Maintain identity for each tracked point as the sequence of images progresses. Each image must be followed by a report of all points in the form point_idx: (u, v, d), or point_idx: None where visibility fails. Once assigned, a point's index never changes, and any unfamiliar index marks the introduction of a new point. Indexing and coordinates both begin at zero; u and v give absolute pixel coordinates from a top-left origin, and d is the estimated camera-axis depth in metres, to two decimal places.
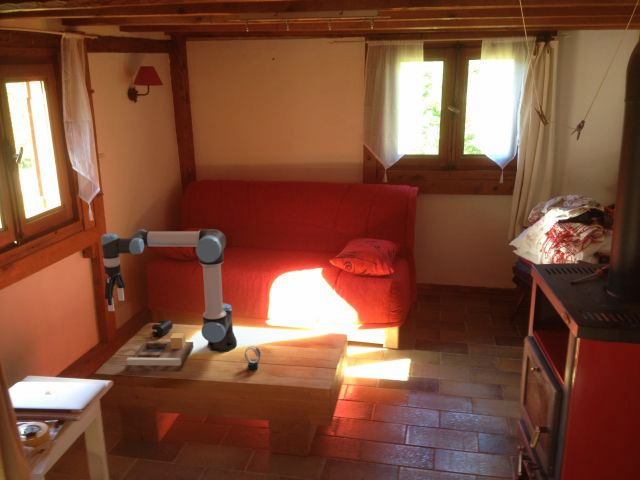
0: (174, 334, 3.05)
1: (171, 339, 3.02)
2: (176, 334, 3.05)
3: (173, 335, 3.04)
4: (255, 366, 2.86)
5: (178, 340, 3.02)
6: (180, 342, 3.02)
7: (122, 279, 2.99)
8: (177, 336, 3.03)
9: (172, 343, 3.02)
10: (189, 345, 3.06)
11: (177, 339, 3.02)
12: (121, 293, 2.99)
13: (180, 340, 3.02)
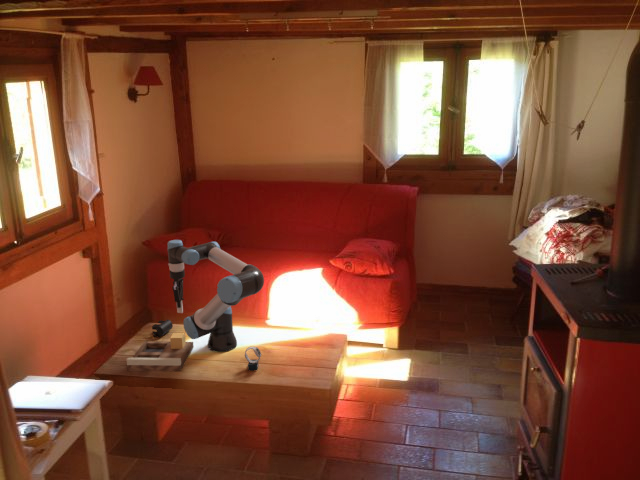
0: (174, 334, 3.05)
1: (171, 339, 3.02)
2: (176, 334, 3.05)
3: (173, 335, 3.04)
4: (255, 366, 2.86)
5: (178, 340, 3.02)
6: (180, 342, 3.02)
7: (182, 290, 3.10)
8: (177, 336, 3.03)
9: (172, 343, 3.02)
10: (189, 345, 3.06)
11: (177, 339, 3.02)
12: None
13: (180, 340, 3.02)
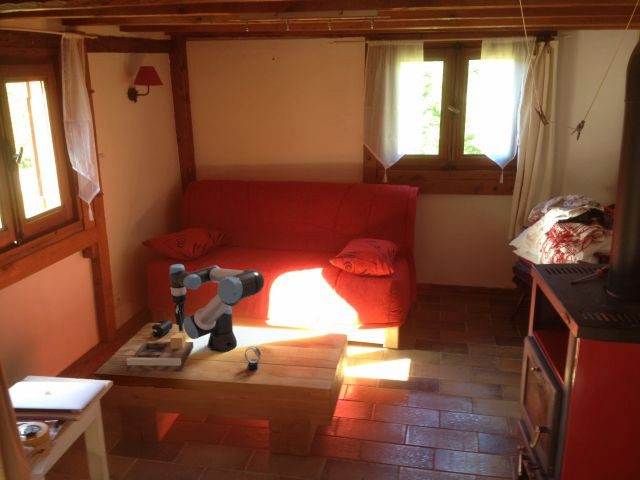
0: (174, 334, 3.05)
1: (171, 339, 3.02)
2: (176, 334, 3.05)
3: (173, 335, 3.04)
4: (255, 366, 2.86)
5: (178, 340, 3.02)
6: (180, 342, 3.02)
7: (184, 313, 3.14)
8: (177, 336, 3.03)
9: (172, 343, 3.02)
10: (189, 345, 3.06)
11: (177, 339, 3.02)
12: None
13: (180, 340, 3.02)
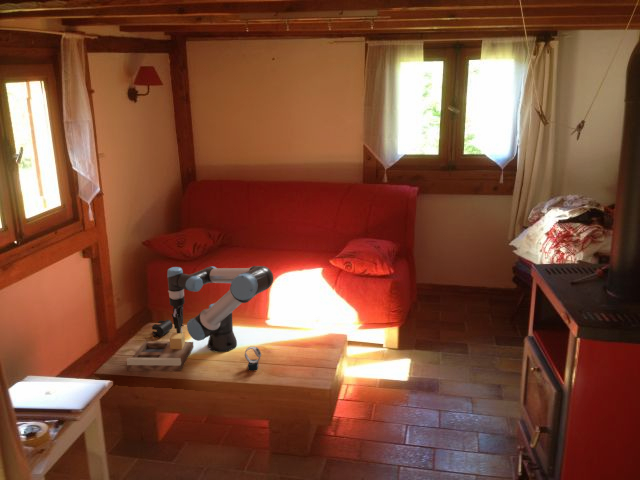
0: (173, 334, 3.05)
1: (170, 340, 3.01)
2: (175, 334, 3.05)
3: (172, 336, 3.03)
4: (255, 366, 2.86)
5: (177, 341, 3.01)
6: (179, 343, 3.01)
7: (182, 316, 3.10)
8: (176, 337, 3.02)
9: (171, 343, 3.02)
10: (189, 345, 3.06)
11: (176, 340, 3.01)
12: None
13: (179, 341, 3.01)
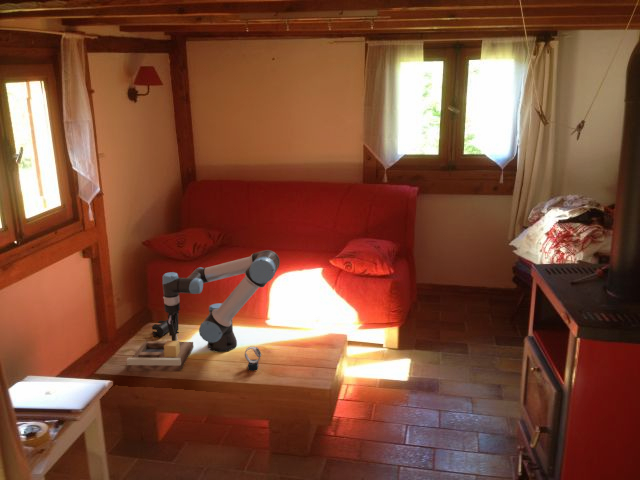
0: (168, 342, 2.97)
1: (165, 347, 2.93)
2: (170, 342, 2.97)
3: (167, 343, 2.95)
4: (255, 366, 2.86)
5: (171, 348, 2.93)
6: (174, 350, 2.93)
7: None
8: (171, 344, 2.94)
9: (165, 351, 2.93)
10: (189, 345, 3.06)
11: (171, 347, 2.93)
12: None
13: (174, 348, 2.93)
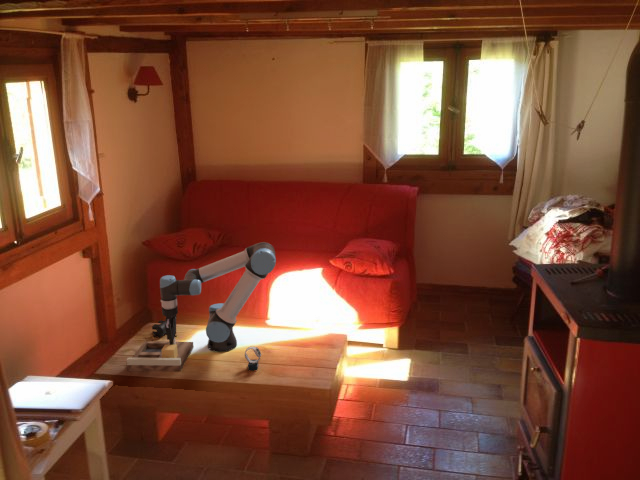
0: (166, 346, 2.92)
1: (162, 351, 2.89)
2: (168, 346, 2.92)
3: (164, 347, 2.91)
4: (255, 366, 2.86)
5: (169, 352, 2.89)
6: (172, 354, 2.89)
7: (175, 326, 2.98)
8: (169, 348, 2.90)
9: (163, 355, 2.89)
10: (189, 345, 3.06)
11: (169, 351, 2.88)
12: None
13: (172, 352, 2.89)
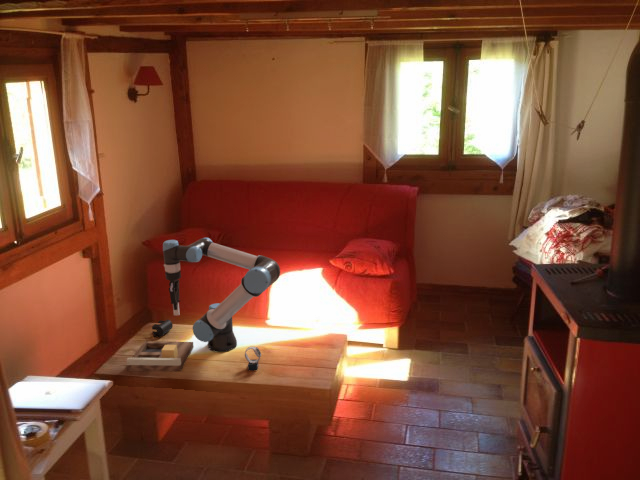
0: (166, 346, 2.92)
1: (162, 351, 2.88)
2: (168, 346, 2.92)
3: (164, 347, 2.91)
4: (255, 366, 2.86)
5: (169, 352, 2.88)
6: (172, 354, 2.89)
7: None
8: (169, 348, 2.90)
9: (163, 355, 2.89)
10: (189, 345, 3.06)
11: (169, 351, 2.88)
12: None
13: (172, 352, 2.88)
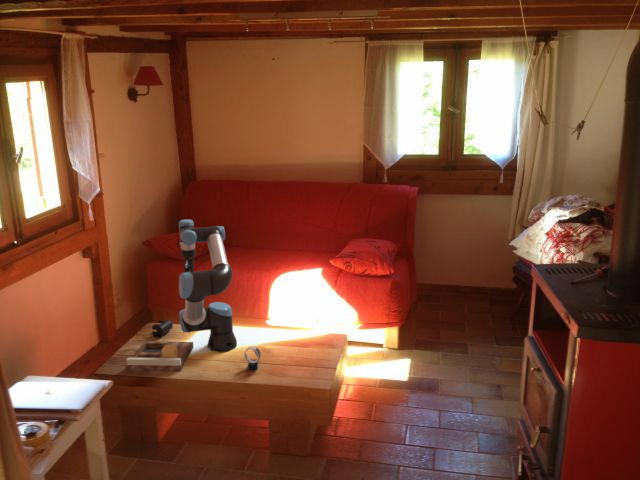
0: (166, 346, 2.92)
1: (162, 351, 2.88)
2: (168, 346, 2.92)
3: (164, 347, 2.91)
4: (255, 366, 2.86)
5: (169, 352, 2.88)
6: (172, 354, 2.89)
7: (193, 268, 3.18)
8: (169, 348, 2.90)
9: (163, 355, 2.89)
10: (189, 345, 3.06)
11: (169, 351, 2.88)
12: None
13: (172, 352, 2.88)
